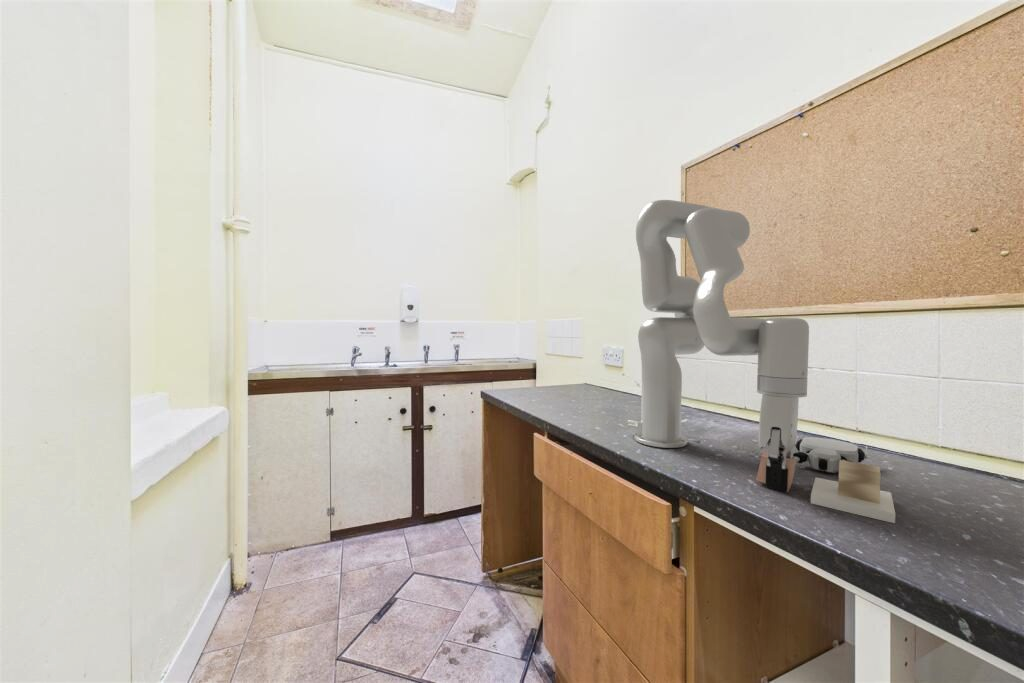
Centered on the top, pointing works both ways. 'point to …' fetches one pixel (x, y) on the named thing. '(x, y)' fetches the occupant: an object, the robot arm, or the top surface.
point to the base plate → (852, 501)
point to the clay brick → (762, 469)
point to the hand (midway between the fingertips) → (778, 484)
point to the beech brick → (859, 481)
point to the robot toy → (826, 453)
